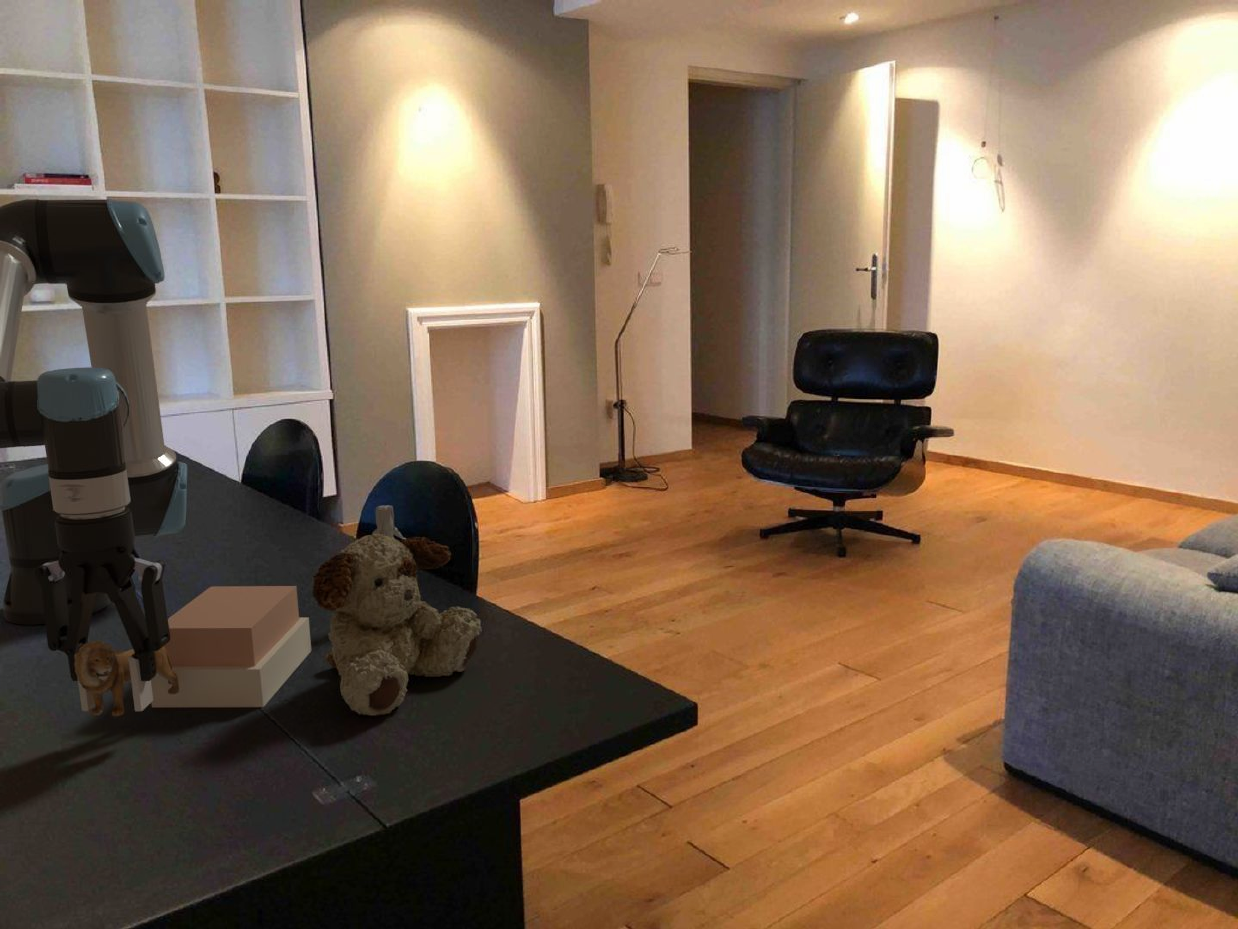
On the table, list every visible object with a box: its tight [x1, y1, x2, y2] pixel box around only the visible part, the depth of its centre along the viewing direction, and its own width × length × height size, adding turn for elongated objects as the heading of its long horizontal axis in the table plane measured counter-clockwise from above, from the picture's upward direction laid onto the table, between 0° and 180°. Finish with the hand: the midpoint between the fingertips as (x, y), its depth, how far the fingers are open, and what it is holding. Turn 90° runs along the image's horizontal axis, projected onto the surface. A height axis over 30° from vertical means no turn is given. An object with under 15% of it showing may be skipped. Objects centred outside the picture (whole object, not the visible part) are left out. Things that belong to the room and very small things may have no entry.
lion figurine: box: [74, 640, 179, 717], centre depth 113 cm, size 15×5×9 cm, turn 168°
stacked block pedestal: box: [150, 585, 312, 708], centre depth 129 cm, size 14×18×10 cm
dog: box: [311, 534, 483, 717], centre depth 127 cm, size 23×19×20 cm
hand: (117, 705), depth 112 cm, fingers closed on lion figurine, 5 cm apart
